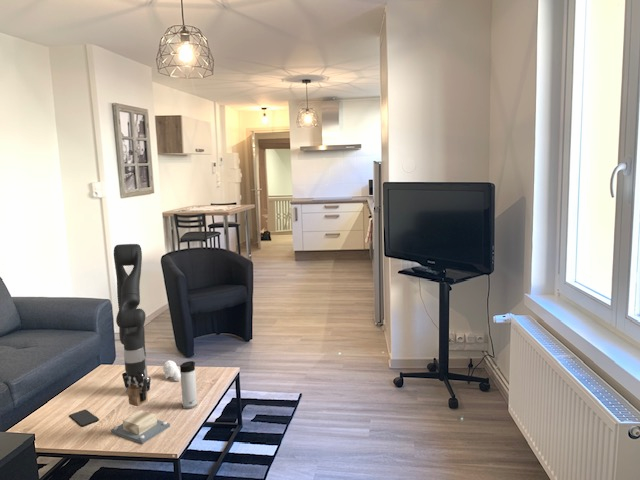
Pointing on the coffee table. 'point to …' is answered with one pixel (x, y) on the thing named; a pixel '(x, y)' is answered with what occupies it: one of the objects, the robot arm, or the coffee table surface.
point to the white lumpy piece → (171, 370)
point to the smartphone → (83, 418)
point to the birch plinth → (139, 422)
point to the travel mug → (188, 384)
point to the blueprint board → (145, 435)
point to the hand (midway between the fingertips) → (138, 399)
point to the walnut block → (135, 395)
